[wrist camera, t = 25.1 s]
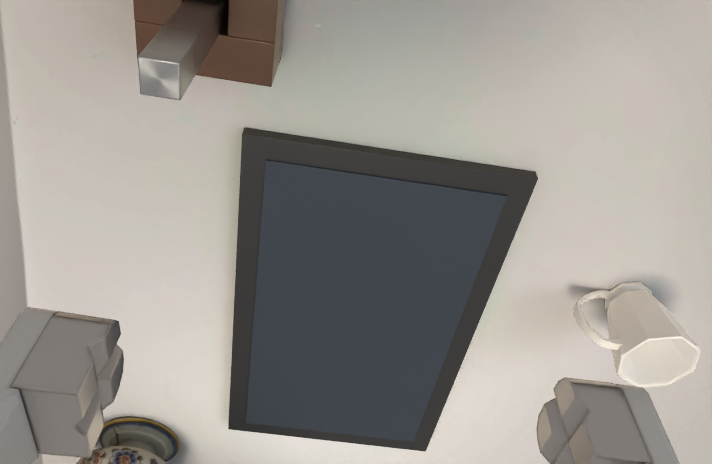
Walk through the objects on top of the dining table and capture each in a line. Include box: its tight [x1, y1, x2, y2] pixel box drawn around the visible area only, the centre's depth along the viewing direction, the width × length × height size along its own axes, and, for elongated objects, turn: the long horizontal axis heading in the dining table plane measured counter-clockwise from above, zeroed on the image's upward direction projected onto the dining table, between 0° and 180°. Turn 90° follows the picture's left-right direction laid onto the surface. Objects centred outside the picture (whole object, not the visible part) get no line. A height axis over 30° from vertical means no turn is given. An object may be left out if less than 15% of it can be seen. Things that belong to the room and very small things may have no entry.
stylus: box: [138, 0, 229, 100], centre depth 35 cm, size 2×2×15 cm
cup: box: [574, 282, 701, 387], centre depth 54 cm, size 7×10×8 cm
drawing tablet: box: [228, 128, 538, 451], centre depth 60 cm, size 40×24×1 cm, turn 171°
